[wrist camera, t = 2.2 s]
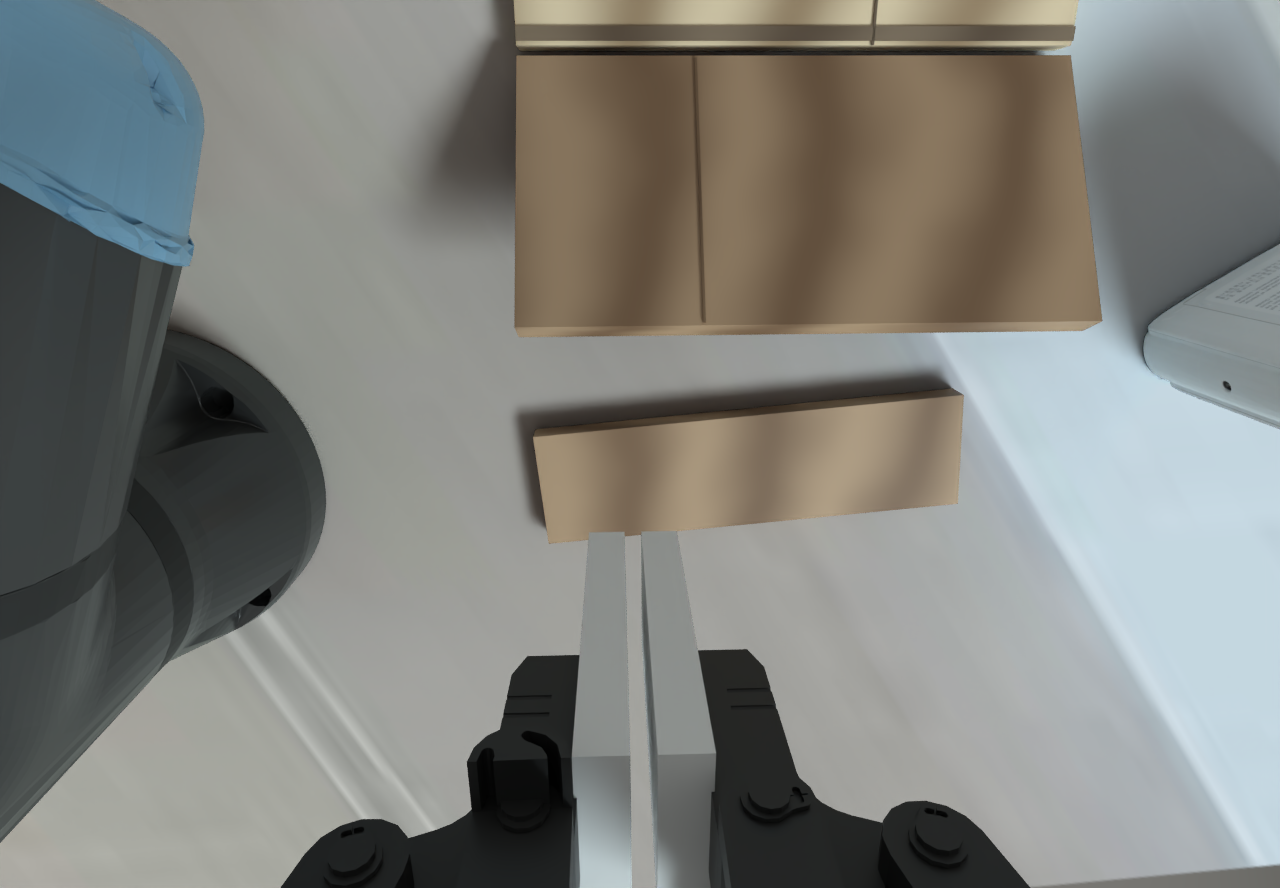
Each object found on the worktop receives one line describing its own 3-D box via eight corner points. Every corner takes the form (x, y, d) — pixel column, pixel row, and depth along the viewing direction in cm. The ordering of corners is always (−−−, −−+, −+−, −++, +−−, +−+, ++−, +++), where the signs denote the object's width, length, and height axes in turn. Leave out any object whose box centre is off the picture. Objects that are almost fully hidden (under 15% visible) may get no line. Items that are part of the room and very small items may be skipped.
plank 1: (519, 337, 28) (514, 326, 27) (520, 75, 30) (516, 54, 29) (1082, 330, 29) (1103, 320, 28) (1053, 74, 30) (1071, 54, 29)
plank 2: (550, 532, 37) (548, 543, 36) (535, 429, 35) (532, 437, 34) (947, 493, 37) (957, 503, 36) (952, 388, 35) (963, 395, 34)
